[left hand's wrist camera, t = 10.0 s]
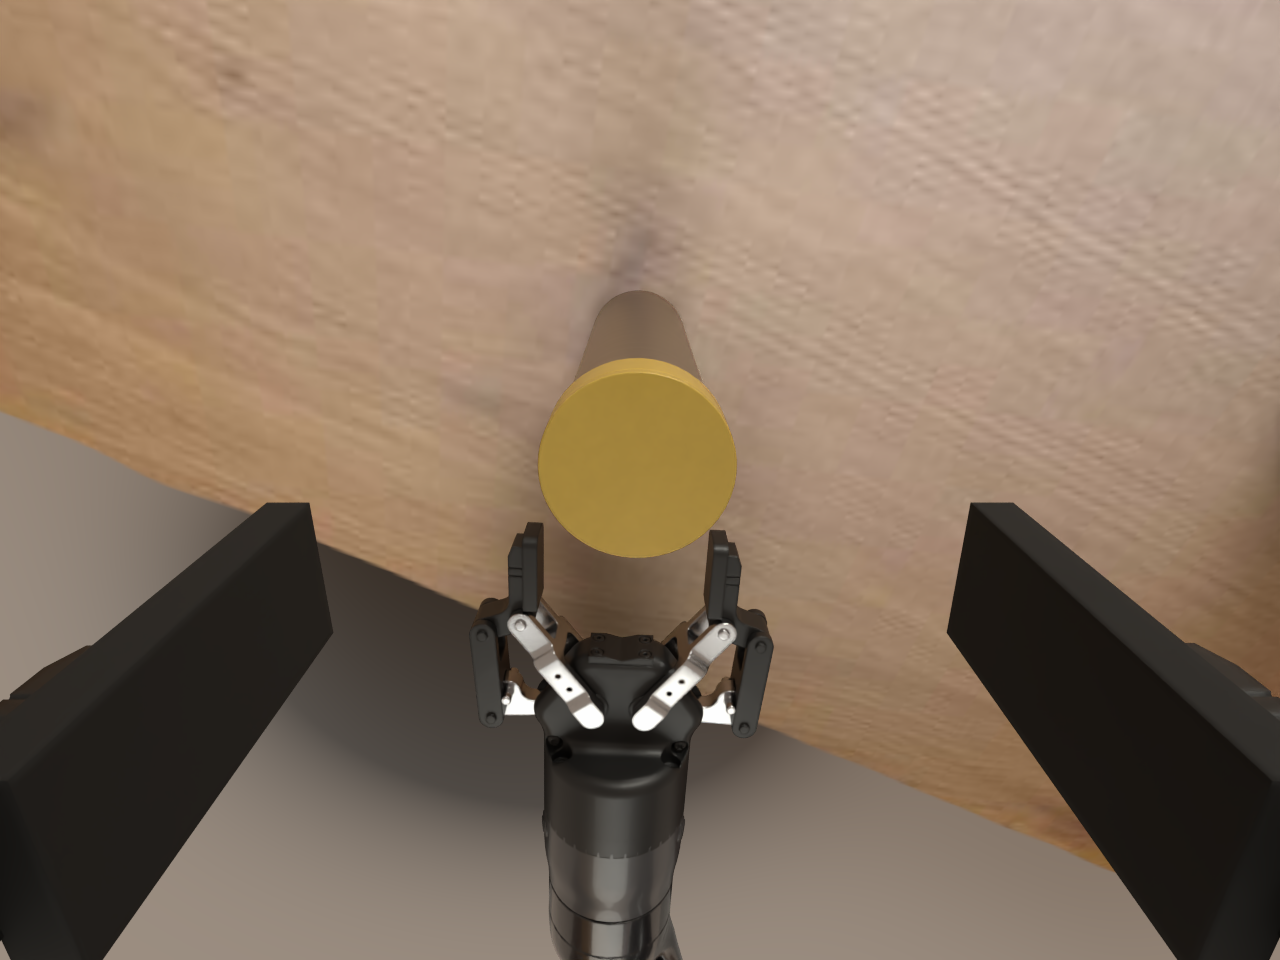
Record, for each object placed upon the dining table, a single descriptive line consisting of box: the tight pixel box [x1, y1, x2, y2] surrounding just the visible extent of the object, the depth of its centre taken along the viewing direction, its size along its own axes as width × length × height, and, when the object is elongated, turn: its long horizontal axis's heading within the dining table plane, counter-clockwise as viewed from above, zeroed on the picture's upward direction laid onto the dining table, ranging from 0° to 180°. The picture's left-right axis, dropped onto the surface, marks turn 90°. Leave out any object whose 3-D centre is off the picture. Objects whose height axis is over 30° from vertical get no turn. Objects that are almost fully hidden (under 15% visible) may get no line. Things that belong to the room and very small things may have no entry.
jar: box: [574, 291, 703, 384], centre depth 27 cm, size 4×4×18 cm
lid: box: [538, 358, 737, 558], centre depth 19 cm, size 5×5×2 cm
